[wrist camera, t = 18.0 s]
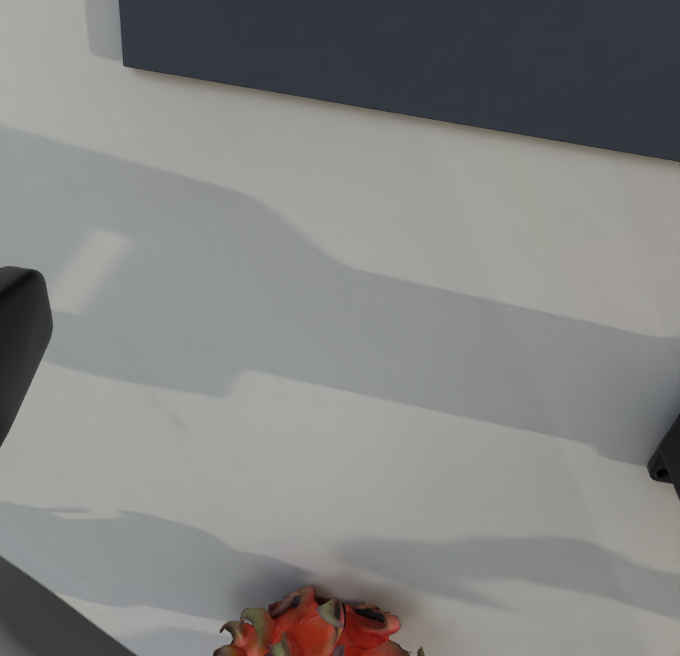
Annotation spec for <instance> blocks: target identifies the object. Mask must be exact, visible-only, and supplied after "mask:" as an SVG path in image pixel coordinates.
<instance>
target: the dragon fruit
mask: <svg viewBox="0 0 680 656" xmlns="http://www.w3.org/2000/svg"><path fill="white" fill-rule="evenodd" d="M298 596H300V603H299V606H297V607H296V608H294V607H292V606H291V605H292V604H293V602H294V601H295V599H296V598H297V597H298ZM314 598H315V589H314V587H313V586H305V587H304V588H302V589H298V590H296V591H294V592H293V593H291V594H288V595H286V596H285V597H284V598H283V601H277V602H275V603H273V604H271V605H269V608H268V612H267V611H266V610H265V609H263V608H246V609H244V610H243V612H242V614H241V618H240V621H239V622H238V621H230V622H227V623H225V624H224V625H223V626H222V628H221V630H220V633H221V632H222V631H223V630H224V628H225V629H226V630H227V631H228V632H230V633H231V635H232V637H233V641H232V642H231V644H230V645H224V646H222V647H221V648H218V649H216V650H215V651H214V653H213V656H410V654H409V652H408V651H405V650H404V649H402V648H401V647H400V646H399V644H397V643H395V642H392V641H391V640H389V635H391V634H394V633H396V632H397V631H398V630H399V629H400V628H401V623H400V620H399V618H398V617H397V616H395V615H390V614H389V612H388V613H387V612H384V613H383V611H384V610H381V609H379V608H378V607H377V606H376V605H372V604H370V605H366V603H364V604H363V605H361V604H360V605H358V606H355V605H345V604H343V605H342V604H341V603H340V601H339V600H338V599H337V598H333V599H331V600H330V601H328V602H326V603H325V604H323V605H321V606H319V605H318V604H317V602H316V601H315V599H314ZM362 609H366V610H362ZM379 610H381V611H379ZM245 619H248V620H250V621H251V623H252V625H253V626H252V625H250V624H249V623H243V622H244V620H245ZM408 647H409V646H408ZM410 652H411V651H410ZM411 653H412V652H411ZM418 656H425V655H424V652H423V649H422V647H421V648H420V649H419V650H418Z"/></svg>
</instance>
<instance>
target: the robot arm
mask: <svg viewBox="0 0 680 656" xmlns="http://www.w3.org/2000/svg"><path fill="white" fill-rule="evenodd" d="M52 330H53V320H52V314H51V309H50V304H49V298H48V293H47V288H46V282H45V279H44V277H43V275H42V274H41V273H40V272H39V271H37V270H33V269H27V268H21V267H14V266H5V267H2V268H0V447H1V445H2V443H3V442H4V440H5V438H6V436H7V434H8V432H9V430H10V428H11V426H12V424H13V422H14V420H15V418H16V415H17V413H18V411H19V409H20V406H21V404H22V402H23V400H24V397H25V395H26V393H27V391H28V388H29V386H30V384H31V382H32V379H33V377H34V375H35V373H36V370H37V368H38V366H39V364H40V361H41V359H42V357H43V355H44V352H45V350H46V348H47V346H48V343H49V341H50V338H51V335H52ZM647 469H648V472H649V474H650V477H651V478H652V479H653V480H656V481H660V482H666V483H671V484H673V485H674V488H675V490H676V492H677V495H678V497H679V500H680V415H679V416H678V418H677V419H676V421H675V422H674V424H673V425H672V427H671V428H670V430H669V431H668V433H667V434H666V436H665V437H664V439H663V440H662V442H661V443H660V445H659V448H658V449H657V451H656V452H655V454H654V455H653V457H652V458H651V460H650V461H649V463H648V465H647Z"/></svg>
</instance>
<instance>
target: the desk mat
mask: <svg viewBox="0 0 680 656" xmlns="http://www.w3.org/2000/svg"><path fill="white" fill-rule="evenodd" d="M119 8H120V22H121V37H122V51H123V65H124V66H125V67H131V68H137V69H143V70H149V71H155V72H160V73H166V74H172V75H178V76H184V77H189V78H195V79H201V80H207V81H213V82H219V83H224V84H230V85H236V86H242V87H248V88H254V89H259V90H265V91H271V92H277V93H283V94H288V95H294V96H300V97H306V98H312V99H318V100H323V101H329V102H335V103H341V104H347V105H352V106H358V107H364V108H370V109H376V110H382V111H387V112H393V113H399V114H405V115H411V116H417V117H422V118H428V119H434V120H440V121H446V122H451V123H457V124H463V125H469V126H475V127H481V128H486V129H492V130H498V131H504V132H510V133H515V134H521V135H527V136H533V137H539V138H545V139H550V140H556V141H562V142H568V143H574V144H580V145H585V146H591V147H597V148H603V149H609V150H614V151H620V152H626V153H632V154H638V155H644V156H649V157H655V158H661V159H667V160H673V161H678V162H680V0H119Z"/></svg>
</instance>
